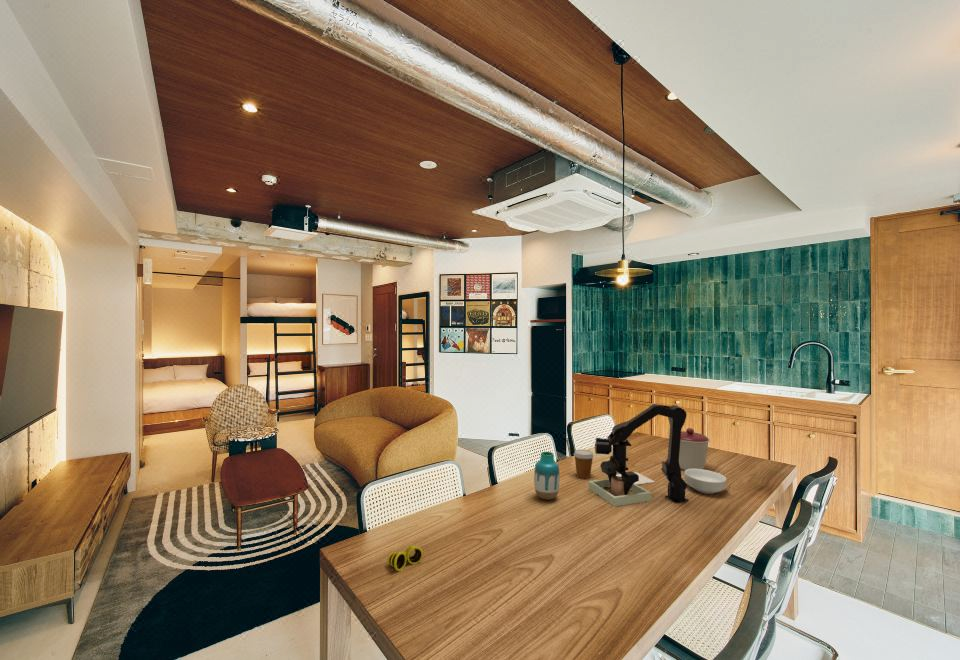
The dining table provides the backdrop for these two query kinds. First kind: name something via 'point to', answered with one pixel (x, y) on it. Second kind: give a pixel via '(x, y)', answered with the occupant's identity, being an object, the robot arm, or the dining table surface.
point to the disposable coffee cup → (583, 462)
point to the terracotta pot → (617, 486)
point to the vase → (546, 477)
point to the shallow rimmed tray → (639, 495)
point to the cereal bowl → (705, 480)
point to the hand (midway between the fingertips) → (618, 490)
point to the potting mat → (641, 479)
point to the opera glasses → (405, 558)
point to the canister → (692, 450)
